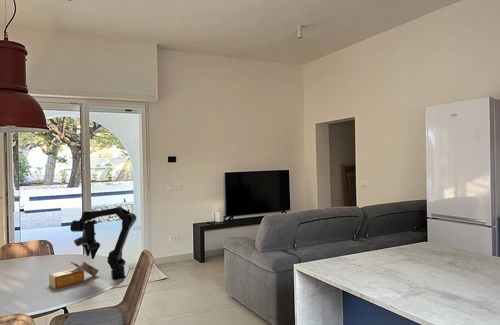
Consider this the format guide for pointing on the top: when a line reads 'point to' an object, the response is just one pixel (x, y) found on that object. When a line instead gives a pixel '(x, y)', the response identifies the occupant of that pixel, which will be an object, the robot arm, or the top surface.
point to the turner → (87, 268)
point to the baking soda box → (66, 278)
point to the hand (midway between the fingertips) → (90, 257)
